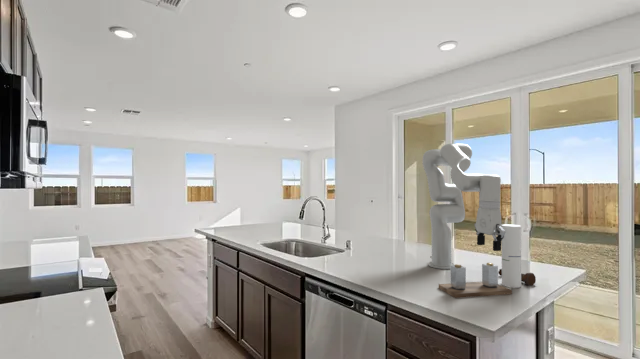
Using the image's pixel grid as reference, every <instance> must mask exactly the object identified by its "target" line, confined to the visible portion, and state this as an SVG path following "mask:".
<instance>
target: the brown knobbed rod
mask: <svg viewBox="0 0 640 359" xmlns="http://www.w3.org/2000/svg"><path fill="white" fill-rule="evenodd" d="M498 275H499V276H501V277H502V268H500V269H499V270H498ZM536 278H537V277H536V275H535V274H534V273H533V272H526V273H522V272H521V282H522V283H524V284H525V285H526V286H528V287H531V286H534V285H535V284H536Z"/></svg>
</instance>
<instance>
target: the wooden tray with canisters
mask: <svg viewBox="0 0 640 359" xmlns="http://www.w3.org/2000/svg"><path fill="white" fill-rule="evenodd" d="M466 270H467V269H466V267H465V266H462V264H458V263H457V264H454V265H453V266H451V269H450V283H438V289H440V290H441V291H443V292H444V293H446V294H448V295H450V296H451V297H453V298H454V299H459V298H474V297H489V296H503V295H504V296H505V295H512V294H513V290H512V289H510V288H509V287H507V286H504V285H501V284H499V283H498V286H492V287H488V286H486V285H484V284H482V281H467V276H466V275H467V274H466V272H467V271H466ZM466 281H467V282H466Z"/></svg>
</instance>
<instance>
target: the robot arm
mask: <svg viewBox="0 0 640 359" xmlns="http://www.w3.org/2000/svg"><path fill="white" fill-rule="evenodd" d="M472 156H473V150H472V148H471V146H469V144H466V143H446V144H444V145H443V146H441V148H440V149H439V148H436V149H434V148H433V149H429V150H426V151H425V152H424V153H423V156H422V167H423V170H424V173H425V175H426V179H427V184H428V187H427V188H428V191H429V192H428V193H429V197H430V199H431V201H432V202H436V203H437V204H434V205H432V206H431V207H430V208H429V219H430V225H431V227H430V228H431V255H430V259H431V261H429V262H428V266H429V267H430V268H433V269H437V270H451V266H453V265H455V264H454V263H452V230H451V229H450V227H449V225H448V224H450V223H451V224H455V223H462V222H463V221H464V220H465V218H466V210H465V203H464V198H463V192H465V193H466V192H468V193H469V192H470V193H471V192H474V193H475V192H477V193H478V192H479V194H478V195H479V198H478V199H479V200H478V201H479V202H478V203H479V204H478V208H477V212H476V219H475V220H476V221H475V223H474V228H475V229H474V230H475V232H476V234H475V235H476V245H477V246H485V244H486V235H488V236H492V238H493V241H492V251H494V252H500V251H501V252H502V240H503V238H504V235H505V233H506V231H505V230H504V229H503V228H502V225H503V224H502V222H503V221H502V213H501V181H502V180H501V176H500V175H498V174H486V173H466V172H467V170H468V169H470V167H471V159H472ZM438 166H443V167H445V166H446V167H448V166H449V167H450V168H451V169H450V179H451V180H450V181H452V183H446V179H445V174H444V172H443V171H442V170H441V169H440V168H439V167H438ZM448 203H449V204H448Z"/></svg>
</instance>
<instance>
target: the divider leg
mask: <svg viewBox="0 0 640 359" xmlns="http://www.w3.org/2000/svg"><path fill="white" fill-rule="evenodd" d="M498 268H499V266H498V265H497V264H496V265H495V264H494V263H492V262H486V263H482V265H481V272H482V273H481V274H482V275H481V282H482V284H484V285H486V286H488V287H492V286H498V284H499V276H498V275H499V273H498V271H499V270H498Z"/></svg>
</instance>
